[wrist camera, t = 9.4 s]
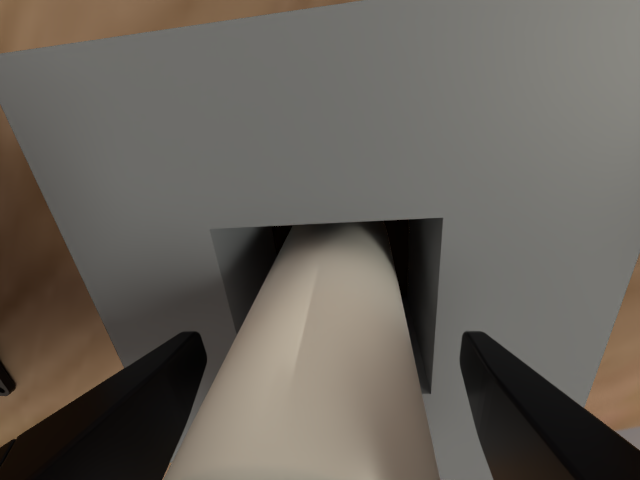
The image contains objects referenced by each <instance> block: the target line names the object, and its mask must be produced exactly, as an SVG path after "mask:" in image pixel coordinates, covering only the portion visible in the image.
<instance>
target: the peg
mask: <svg viewBox="0 0 640 480" xmlns="http://www.w3.org/2000/svg"><path fill="white" fill-rule="evenodd" d="M163 480H440V476H439V472H438V467H437V462H436V457H435V453H434V448H433V443H432V439H431V434H430V429H429V425H428V420H427V415H426V411H425V406H424V401H423V397H422V392H421V387H420V383H419V378H418V373H417V369H416V364H415V359H414V355H413V350H412V345H411V341H410V336H409V331H408V327H407V322H406V317H405V313H404V308H403V303H402V299H401V294H400V289H399V285H398V280H397V275H396V271H395V266H394V261H393V257H392V252H391V247H390V243H389V238H388V233H387V229H386V225H385V223H384V221H363V222H343V223H322V224H302V225H293V226H292V228H291V230H290V232H289V234H288V236H287V238H286V240H285V242H284V244H283V246H282V248H281V250H280V252H279V254H278V256H277V257H276V259H275V261H274V263H273V265H272V267H271V269H270V271H269V273H268V275H267V277H266V279H265V281H264V283H263V285H262V287H261V289H260V291H259V293H258V295H257V297H256V299H255V301H254V303H253V305H252V307H251V309H250V311H249V312H248V314H247V316H246V318H245V320H244V322H243V324H242V326H241V328H240V330H239V332H238V334H237V336H236V338H235V340H234V342H233V344H232V346H231V348H230V350H229V352H228V354H227V356H226V358H225V360H224V362H223V364H222V366H221V368H220V369H219V371H218V373H217V375H216V377H215V379H214V381H213V383H212V385H211V387H210V389H209V391H208V393H207V395H206V397H205V399H204V401H203V403H202V405H201V407H200V409H199V411H198V413H197V415H196V417H195V419H194V421H193V423H192V424H191V426H190V428H189V430H188V432H187V434H186V436H185V438H184V440H183V442H182V444H181V446H180V448H179V450H178V452H177V454H176V456H175V458H174V460H173V462H172V464H171V466H170V468H169V470H168V472H167V474H166V476H165V478H164V479H163Z"/></svg>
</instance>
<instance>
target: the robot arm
mask: <svg viewBox="0 0 640 480" xmlns="http://www.w3.org/2000/svg"><path fill="white" fill-rule="evenodd" d="M206 365H207V353H206V350H205V347H204V344H203V341H202V338H201V335H200V333H199V332H197V331H183V332H181V333H179V334H177V335H176V336H174V337H173V338H171V339H170V340H168V341H166V342H165V343H163V344H162V345H160V346H159V347H157V348H155V349H154V350H152V351H151V352H149V353H148V354H146V355H144V356H143V357H141V358H140V359H138V360H137V361H135V362H133V363H132V364H130V365H129V366H127V367H126V368H124V369H123V370H121V371H119V372H118V373H116V374H115V375H113V376H112V377H110V378H108V379H107V380H105V381H104V382H102V383H101V384H99V385H97V386H96V387H94V388H93V389H91V390H90V391H88V392H86V393H85V394H83V395H82V396H80V397H79V398H77V399H76V400H74V401H72V402H71V403H69V404H68V405H66V406H65V407H63V408H61V409H60V410H58V411H57V412H55V413H54V414H52V415H50V416H49V417H47V418H46V419H44V420H43V421H41V422H39V423H38V424H36V425H35V426H33V427H32V428H30V429H29V430H27V431H25V432H24V433H22V434H21V435H19V436H18V437H17V439H13V440H11V441H10V442H8V443H6V444H5V445H3V446H2V447H0V480H162V479H163V477H164V474H165V472H166V470H167V468H168V465H169V463H170V461H171V459H172V456H173V454H174V452H175V450H176V447H177V445H178V443H179V441H180V438H181V436H182V434H183V431H184V429H185V427H186V424H187V421H188V419H189V416H190V413H191V410H192V407H193V404H194V401H195V398H196V395H197V392H198V389H199V386H200V383H201V380H202V377H203V374H204V371H205V368H206ZM460 369H461V373H462V377H463V381H464V385H465V388H466V392H467V396H468V400H469V404H470V408H471V412H472V416H473V420H474V424H475V428H476V431H477V435H478V438H479V441H480V444H481V447H482V450H483V453H484V456H485V458H486V461H487V464H488V467H489V469H490V472H491V475H492V477H493V480H640V450H639V449H637V448H636V447H635V446H633V445H632V444H631V443H629V442H628V441H627V440H625V439H624V438H623V437H621V436H620V435H619V434H618V433H616V432H615V431H614V430H612V429H611V428H610V427H608V426H607V425H606V424H604V423H603V422H602V421H600V420H599V419H598V418H597V417H595V416H594V415H593V414H591V413H590V412H589V411H587V410H586V409H585V408H583V407H582V406H581V405H579V404H578V403H577V402H575V401H574V400H573V399H572V398H570V397H569V396H568V395H566V394H565V393H564V392H562V391H561V390H560V389H558V388H557V387H556V386H554V385H553V384H552V383H550V382H549V381H548V380H547V379H545V378H544V377H543V376H541V375H540V374H539V373H537V372H536V371H535V370H533V369H532V368H531V367H529V366H528V365H527V364H526V363H524V362H523V361H522V360H520V359H519V358H518V357H516V356H515V355H514V354H512V353H511V352H510V351H508V350H507V349H506V348H504V347H503V346H502V345H501V344H499V343H498V342H497V341H495V340H494V339H493V338H491V337H490V336H489V335H487V334H486V333H485V332H482V331H465V332H464V333H463V335H462V341H461V349H460ZM15 388H16V387H15V385H14V383H13V382H12V380H11V379H10V377H9V376H8V375H7V373H6V372H5V370H4V369H3V367H2V366H1V364H0V396H8V395H9V394H10V393H11V392H12V391H14V390H15Z"/></svg>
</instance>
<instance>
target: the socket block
mask: <svg viewBox="0 0 640 480" xmlns="http://www.w3.org/2000/svg"><path fill="white" fill-rule="evenodd" d="M0 105H1V107H2V109H3V111H4V113H5V115H6V117H7V120H8V122H9V124H10V126H11V128H12V130H13V132H14V134H15V137H16V139H17V141H18V143H19V145H20V147H21V149H22V151H23V154H24V156H25V158H26V160H27V162H28V164H29V166H30V168H31V171H32V173H33V175H34V177H35V179H36V181H37V183H38V185H39V188H40V190H41V192H42V194H43V196H44V198H45V200H46V202H47V205H48V207H49V209H50V211H51V213H52V215H53V217H54V219H55V222H56V224H57V226H58V228H59V230H60V232H61V234H62V237H63V239H64V241H65V243H66V245H67V247H68V249H69V251H70V254H71V256H72V258H73V260H74V262H75V264H76V266H77V268H78V271H79V273H80V275H81V277H82V279H83V281H84V283H85V285H86V288H87V290H88V292H89V294H90V296H91V298H92V300H93V302H94V305H95V307H96V309H97V311H98V313H99V315H100V317H101V319H102V322H103V324H104V326H105V328H106V330H107V332H108V334H109V337H110V339H111V341H112V343H113V345H114V347H115V349H116V351H117V354H118V356H119V358H120V360H121V362H122V364H123V366H124V368H126V367H127V366H129V365H130V364H132V363H133V362H135V361H137V360H138V359H140V358H141V357H143V356H144V355H146V354H148V353H149V352H151V351H152V350H154V349H155V348H157V347H159V346H160V345H162V344H163V343H165V342H166V341H168V340H170V339H171V338H173V337H174V336H176V335H177V334H179V333H181V332H183V331H197V332H199V333H200V335H201V338H202V341H203V344H204V347H205V350H206V353H207V365H206V368H205V371H204V374H203V377H202V380H201V383H200V386H199V389H198V392H197V395H196V398H195V401H194V404H193V407H192V410H191V413H190V416H189V419H188V421H187V424H186V427H185V429H184V431H183V434H182V436H181V438H180V441H179V443H178V445H177V447H176V450H175V452H174V454H173V456H172V459H171V461H170V463H172V462H173V460H174V458H175V456H176V454H177V452H178V450H179V448H180V446H181V444H182V442H183V440H184V438H185V436H186V434H187V432H188V430H189V428H190V426H191V424H192V423H193V421H194V419H195V417H196V415H197V413H198V411H199V409H200V407H201V405H202V403H203V401H204V399H205V397H206V395H207V393H208V391H209V389H210V387H211V385H212V383H213V381H214V379H215V377H216V375H217V373H218V371H219V369H220V368H221V366H222V364H223V362H224V360H225V358H226V356H227V354H228V352H229V350H230V348H231V346H232V344H233V342H234V340H235V338H236V336H237V334H238V332H239V330H240V328H241V326H242V324H243V322H244V320H245V318H246V316H247V314H248V312H249V311H250V309H251V307H252V305H253V303H254V301H255V299H256V297H257V295H258V293H259V291H260V289H261V287H262V285H263V283H264V281H265V279H266V277H267V275H268V273H269V271H270V269H271V267H272V265H273V263H274V261H275V259H276V257H277V255H276V249H275V243H274V237H273V232H272V226H282V225H302V224H322V223H343V222H363V221H384V220H404V219H409V237H408V283H407V297H401V299H402V303H403V308H404V313H405V317H406V322H407V327H408V331H409V336H410V341H411V345H412V350H413V355H414V359H415V364H416V369H417V373H418V378H419V383H420V387H421V392H422V397H423V401H424V406H425V411H426V415H427V420H428V425H429V429H430V434H431V439H432V443H433V448H434V453H435V457H436V462H437V467H438V472H439V476H440V480H493V477H492V475H491V472H490V469H489V467H488V464H487V461H486V458H485V456H484V453H483V450H482V447H481V444H480V441H479V438H478V435H477V431H476V428H475V424H474V420H473V416H472V412H471V408H470V404H469V400H468V396H467V392H466V388H465V385H464V381H463V377H462V373H461V369H460V349H461V341H462V335H463V333H464V332H465V331H482V332H485V333H486V334H487V335H489V336H490V337H491V338H493V339H494V340H495V341H497V342H498V343H499V344H501V345H502V346H503V347H504V348H506V349H507V350H508V351H510V352H511V353H512V354H514V355H515V356H516V357H518V358H519V359H520V360H522V361H523V362H524V363H526V364H527V365H528V366H529V367H531V368H532V369H533V370H535V371H536V372H537V373H539V374H540V375H541V376H543V377H544V378H545V379H547V380H548V381H549V382H550V383H552V384H553V385H554V386H556V387H557V388H558V389H560V390H561V391H562V392H564V393H565V394H566V395H568V396H569V397H570V398H572V399H573V400H574V401H575V402H577V403H578V404H579V405H581V406H582V407H583V408H584V407H585V404H586V401H587V398H588V395H589V393H590V390H591V387H592V384H593V381H594V379H595V376H596V373H597V370H598V367H599V365H600V362H601V359H602V356H603V354H604V351H605V348H606V345H607V342H608V340H609V337H610V334H611V331H612V328H613V326H614V323H615V320H616V317H617V314H618V312H619V309H620V306H621V303H622V301H623V298H624V295H625V292H626V289H627V287H628V284H629V281H630V278H631V275H632V273H633V270H634V267H635V264H636V261H637V259H638V256H639V253H640V0H363V1H356V2H350V3H343V4H336V5H329V6H322V7H316V8H309V9H302V10H295V11H288V12H281V13H275V14H268V15H261V16H254V17H247V18H241V19H234V20H227V21H220V22H213V23H207V24H200V25H193V26H186V27H179V28H173V29H166V30H159V31H152V32H145V33H138V34H132V35H125V36H118V37H111V38H104V39H98V40H91V41H84V42H77V43H70V44H64V45H57V46H50V47H43V48H36V49H29V50H23V51H16V52H9V53H2V54H0Z"/></svg>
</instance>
